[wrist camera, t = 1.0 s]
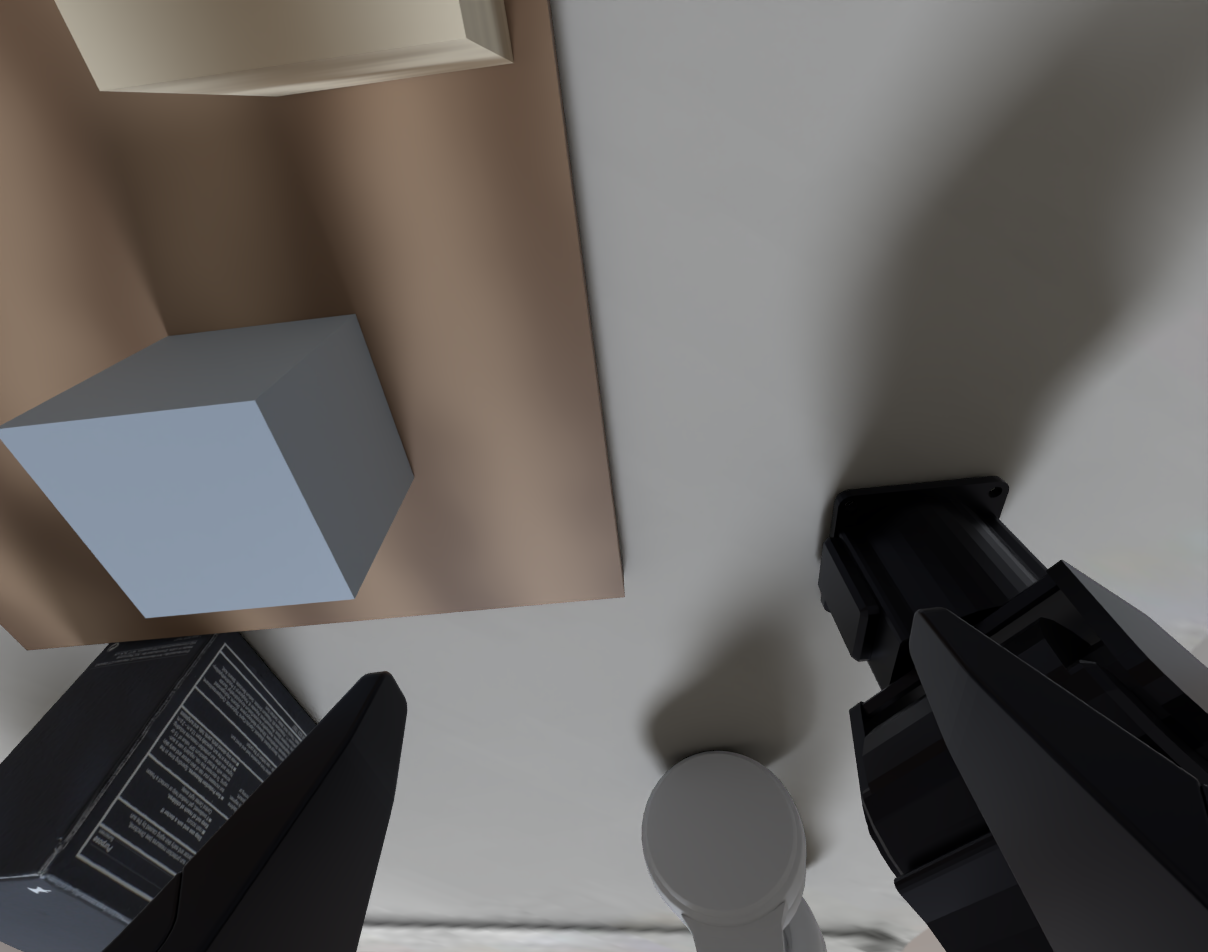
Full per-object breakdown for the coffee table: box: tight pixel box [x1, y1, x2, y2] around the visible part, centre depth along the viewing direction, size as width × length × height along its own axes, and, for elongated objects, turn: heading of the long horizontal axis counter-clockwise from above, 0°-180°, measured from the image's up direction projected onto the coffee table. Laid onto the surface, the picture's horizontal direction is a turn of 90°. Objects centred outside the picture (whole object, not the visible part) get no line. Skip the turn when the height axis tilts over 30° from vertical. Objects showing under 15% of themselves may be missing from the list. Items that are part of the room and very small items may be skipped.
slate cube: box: [0, 314, 414, 618], centre depth 16 cm, size 6×6×6 cm
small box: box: [0, 632, 316, 952], centre depth 25 cm, size 11×6×10 cm, turn 12°
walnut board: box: [0, 0, 625, 650], centre depth 18 cm, size 27×25×1 cm
